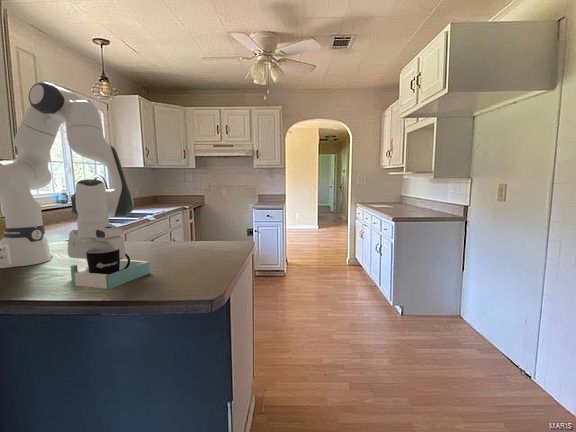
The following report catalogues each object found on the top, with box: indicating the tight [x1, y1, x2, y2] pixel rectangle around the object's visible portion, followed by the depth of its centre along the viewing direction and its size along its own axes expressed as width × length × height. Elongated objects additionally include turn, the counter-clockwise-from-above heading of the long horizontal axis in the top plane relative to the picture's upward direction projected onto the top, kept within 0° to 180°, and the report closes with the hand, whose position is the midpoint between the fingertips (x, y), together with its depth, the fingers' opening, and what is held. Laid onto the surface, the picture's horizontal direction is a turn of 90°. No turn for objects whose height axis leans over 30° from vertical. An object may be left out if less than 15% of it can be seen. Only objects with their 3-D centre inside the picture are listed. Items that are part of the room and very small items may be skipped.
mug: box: [86, 248, 131, 275], centre depth 102 cm, size 12×9×10 cm
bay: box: [70, 259, 151, 290], centre depth 104 cm, size 14×17×6 cm
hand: (97, 272), depth 106 cm, fingers closed
